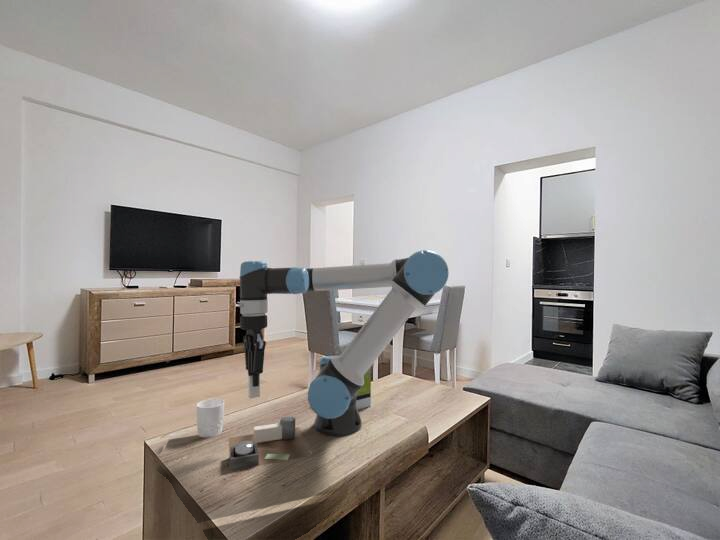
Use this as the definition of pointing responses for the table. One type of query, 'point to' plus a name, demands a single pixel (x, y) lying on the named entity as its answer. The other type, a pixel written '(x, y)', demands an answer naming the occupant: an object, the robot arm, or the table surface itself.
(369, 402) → the tea box
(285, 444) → the board
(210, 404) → the white cup
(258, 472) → the table surface
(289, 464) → the table surface
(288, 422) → the peg lever
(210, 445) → the table surface
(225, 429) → the table surface
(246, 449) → the button
